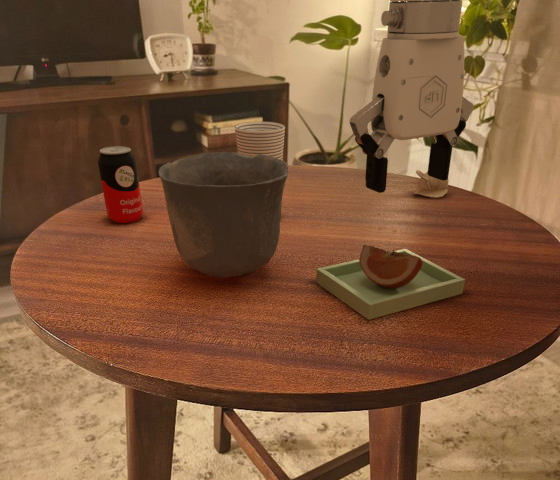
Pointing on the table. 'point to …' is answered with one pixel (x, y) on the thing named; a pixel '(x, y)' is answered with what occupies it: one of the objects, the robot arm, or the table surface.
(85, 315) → the table surface
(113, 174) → the beverage can
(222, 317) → the table surface
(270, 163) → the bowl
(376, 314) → the serving tray
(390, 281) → the fruit slice
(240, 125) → the cup
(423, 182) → the decorative ornament
